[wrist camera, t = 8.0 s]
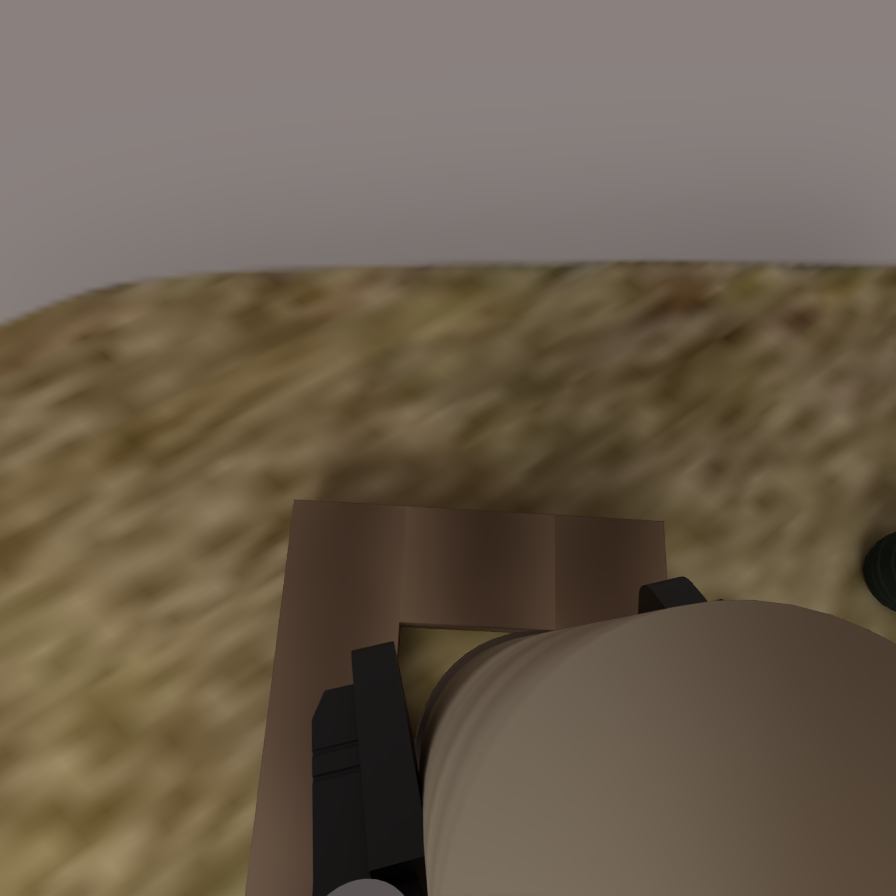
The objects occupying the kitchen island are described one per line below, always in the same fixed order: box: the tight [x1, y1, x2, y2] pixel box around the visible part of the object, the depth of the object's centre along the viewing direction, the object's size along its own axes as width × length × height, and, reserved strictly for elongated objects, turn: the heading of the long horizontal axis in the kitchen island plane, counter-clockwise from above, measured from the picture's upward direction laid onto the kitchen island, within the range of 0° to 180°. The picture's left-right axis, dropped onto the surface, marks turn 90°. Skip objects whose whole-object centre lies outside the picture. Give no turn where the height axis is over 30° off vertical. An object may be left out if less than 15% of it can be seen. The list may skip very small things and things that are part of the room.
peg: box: [414, 600, 896, 896], centre depth 10 cm, size 5×5×12 cm
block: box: [245, 500, 667, 896], centre depth 24 cm, size 14×14×4 cm
